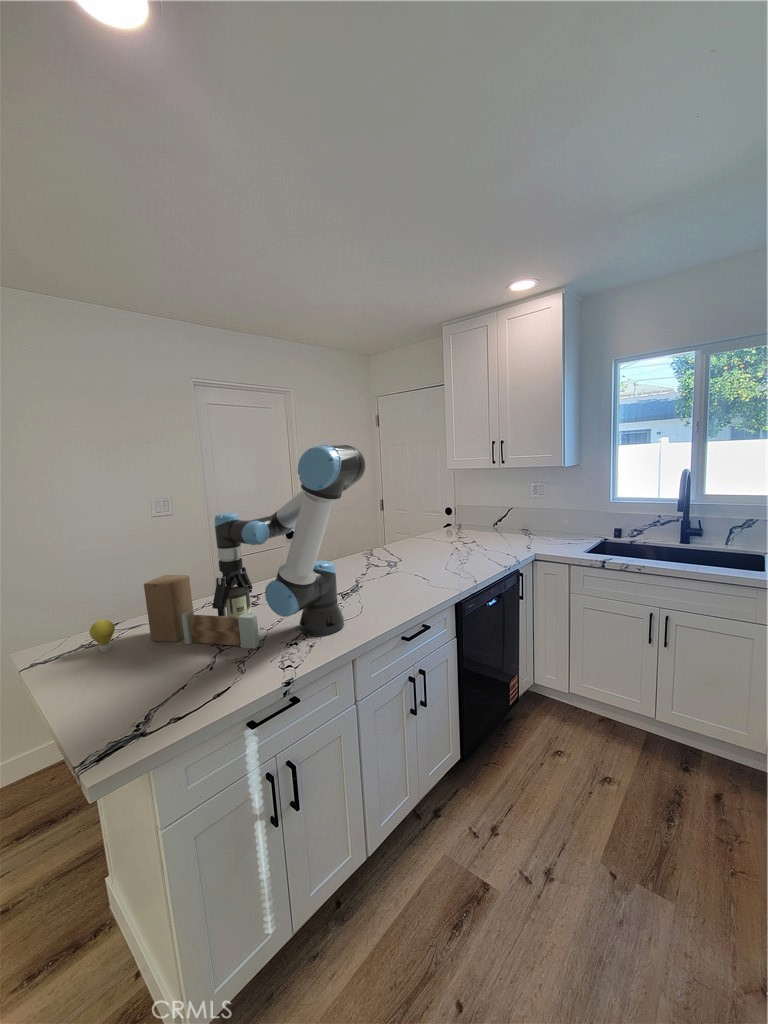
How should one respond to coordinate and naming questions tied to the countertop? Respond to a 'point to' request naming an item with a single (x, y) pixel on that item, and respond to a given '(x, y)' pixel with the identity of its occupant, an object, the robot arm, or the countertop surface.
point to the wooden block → (168, 606)
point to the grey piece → (246, 630)
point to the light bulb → (102, 633)
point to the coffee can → (238, 602)
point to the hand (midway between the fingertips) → (235, 618)
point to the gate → (215, 629)
